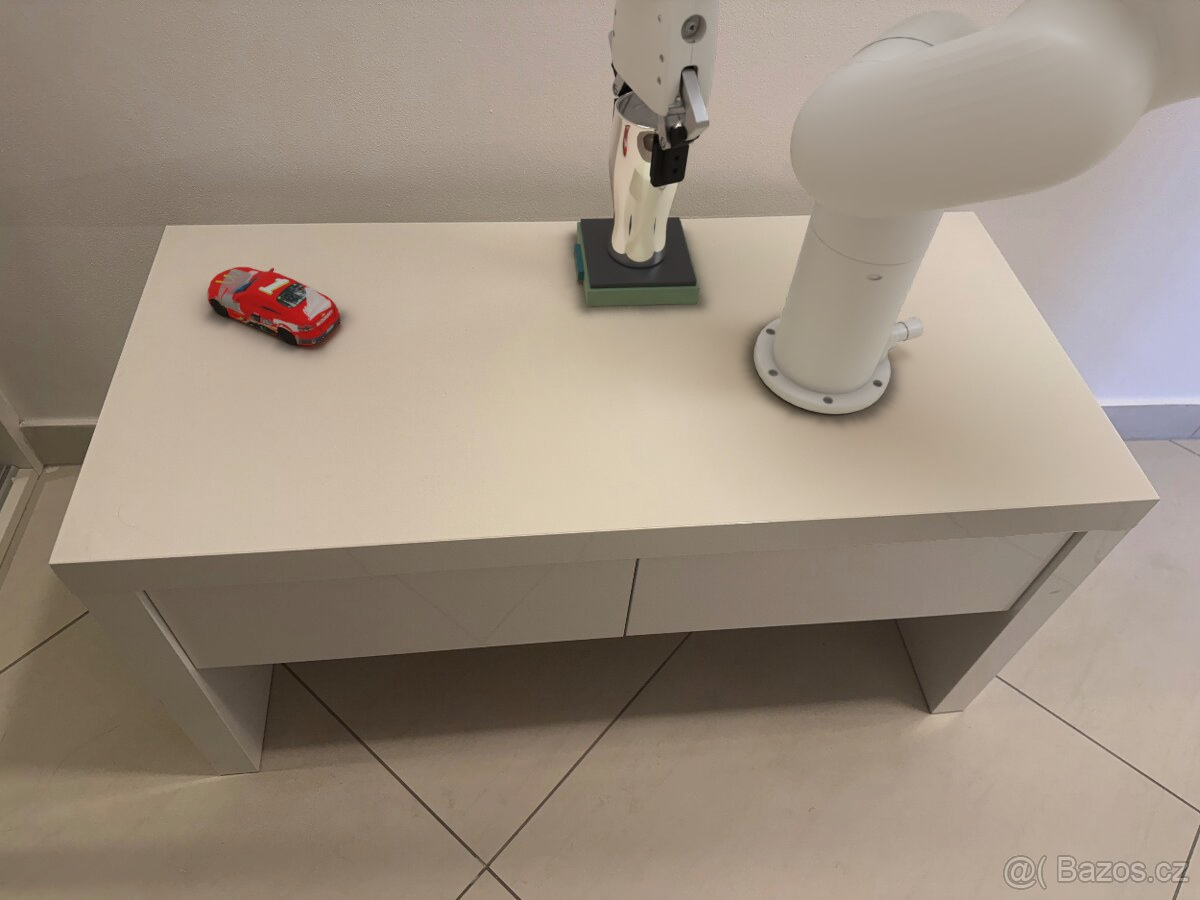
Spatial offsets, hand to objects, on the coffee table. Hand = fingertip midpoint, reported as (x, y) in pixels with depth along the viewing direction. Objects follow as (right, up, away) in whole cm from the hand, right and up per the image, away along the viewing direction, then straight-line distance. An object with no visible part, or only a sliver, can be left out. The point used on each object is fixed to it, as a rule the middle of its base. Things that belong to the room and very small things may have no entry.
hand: (646, 158), depth 78 cm
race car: (-35, -14, +3) cm, 38 cm away
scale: (-1, -8, +10) cm, 13 cm away
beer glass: (-1, -7, +8) cm, 10 cm away
